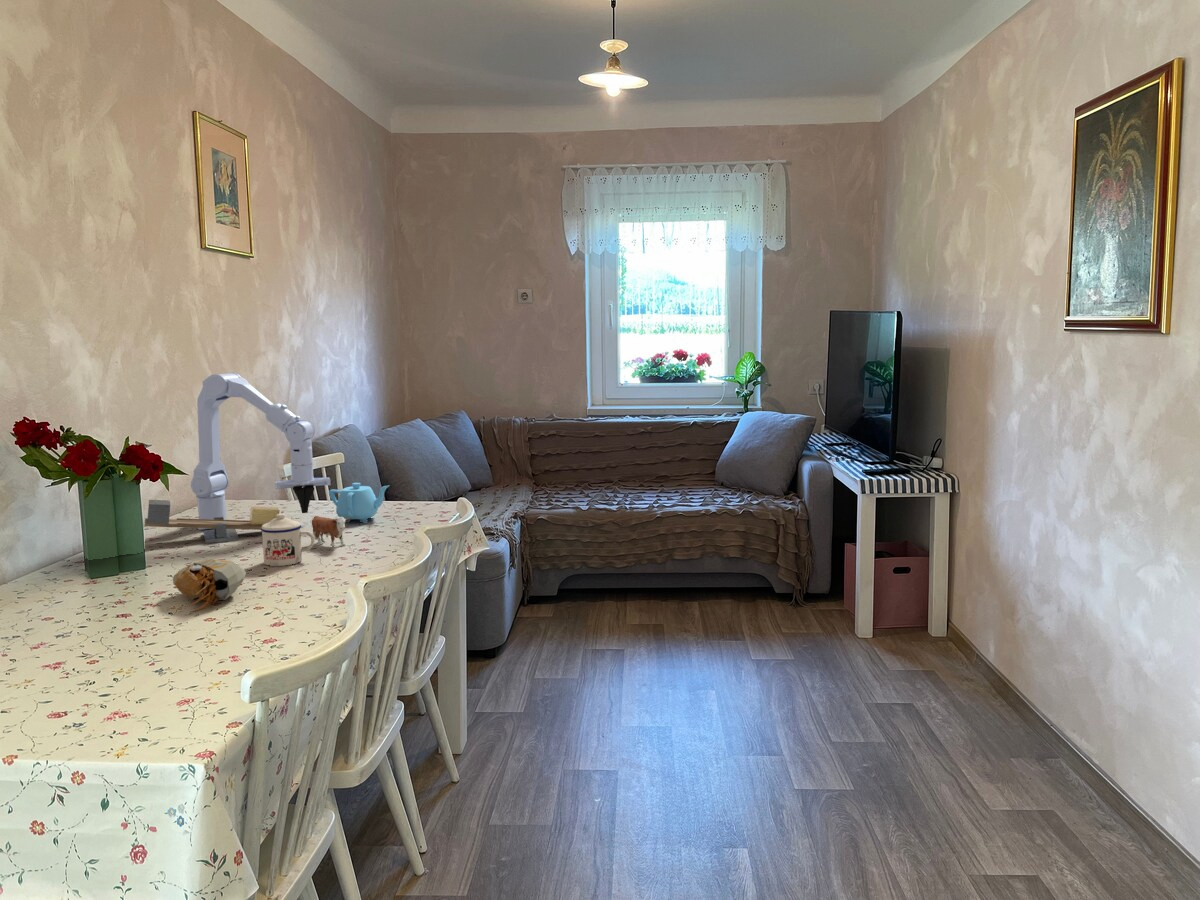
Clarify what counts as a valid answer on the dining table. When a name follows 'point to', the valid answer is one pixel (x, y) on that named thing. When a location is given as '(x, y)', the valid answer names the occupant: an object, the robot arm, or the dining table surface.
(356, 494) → the teapot
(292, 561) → the teacup with lid
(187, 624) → the dining table surface
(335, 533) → the bull figurine
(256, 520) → the block
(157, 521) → the beam
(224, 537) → the pivot stand
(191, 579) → the nautilus
